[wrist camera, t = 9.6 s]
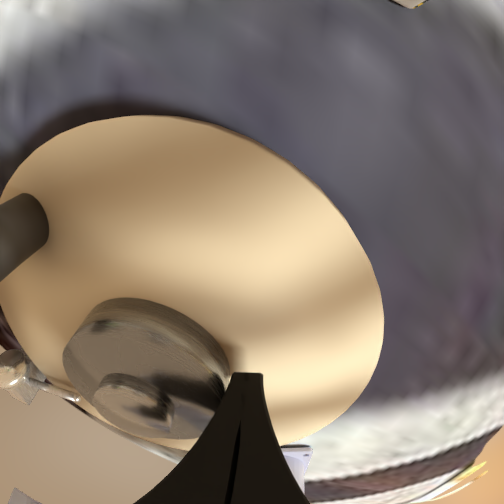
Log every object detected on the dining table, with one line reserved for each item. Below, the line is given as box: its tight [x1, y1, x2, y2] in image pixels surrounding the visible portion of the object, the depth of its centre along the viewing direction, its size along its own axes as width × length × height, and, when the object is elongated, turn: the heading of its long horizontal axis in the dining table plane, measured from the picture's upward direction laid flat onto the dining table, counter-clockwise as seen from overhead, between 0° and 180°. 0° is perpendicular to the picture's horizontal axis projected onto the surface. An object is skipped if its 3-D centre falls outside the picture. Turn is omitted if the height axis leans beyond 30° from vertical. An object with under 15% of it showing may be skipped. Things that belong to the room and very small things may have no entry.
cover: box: [62, 297, 230, 440], centre depth 10 cm, size 7×7×3 cm
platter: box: [0, 115, 384, 451], centre depth 11 cm, size 20×20×6 cm
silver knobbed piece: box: [0, 348, 81, 405], centre depth 14 cm, size 3×7×6 cm, turn 92°
